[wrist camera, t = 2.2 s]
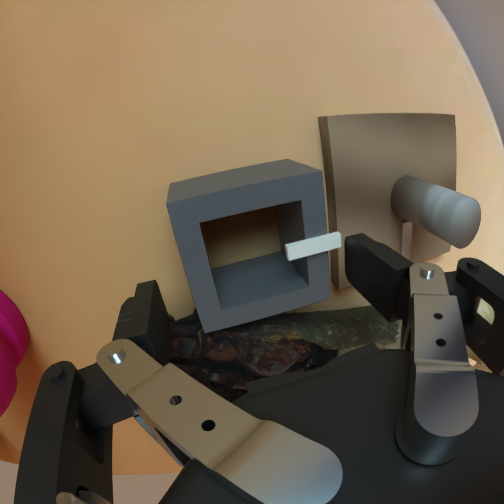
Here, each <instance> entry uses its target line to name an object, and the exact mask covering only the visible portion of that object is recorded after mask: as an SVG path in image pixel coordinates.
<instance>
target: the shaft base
mask: <svg viewBox="0 0 504 504" xmlns="http://www.w3.org/2000/svg"><path fill="white" fill-rule="evenodd" d="M318 118H319V125H320V133H321V141H322V150H323V159H324V168H325V178H326V189H327V201H328V215H329V230H330V233H334V232H339V233H340V234H341V247H339V248H335V249H332V250H331V271H332V283H333V284H334V285H335V286H336V288H337V289H338V290H341V289H344V288H348V287H351V286H352V285H351V284H350V283H349V282H348V280H347V278H346V275H345V253H344V241H345V238H346V237H347V236H350V235H354V234H359V233H364V234H365V235H367V236H368V237H370V238H371V239H373V240H374V241H377V242H380V243H383V244H386V245H387V246H389V247H390V248H392V250H395V251H396V252H398V254H401V255H402V256H404V257H405V258H407V259H408V260H410V261H411V262H413V263H414V264H415V263H420V262H422V261H425V260H428V259H430V258H433V257H436V256H438V255H441V254H444V253H446V252H449V251H450V247H451V245H453V246H455V247H456V248H459V249H462V248H465V247H466V246H468V245H469V244H470V243H471V242H472V240H473V239H474V237H475V236H476V234H477V231H478V229H479V225H480V220H481V209H480V205H479V203H478V201H477V200H476V199H474V198H471V197H469V196H466V195H464V194H461V193H459V192H456V127H455V115H449V114H432V113H373V114H351V115H336V116H324V117H318Z"/></svg>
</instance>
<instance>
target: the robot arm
mask: <svg viewBox="0 0 504 504" xmlns="http://www.w3.org/2000/svg"><path fill="white" fill-rule="evenodd" d="M344 253H345V275H346V278H347V280H348V282H349V283H350V284H351V285H352V286H353V287H354V288H355V289H356V290H357V291H358V292H359V293H360V294H361V295H362V296H363V297H364V298H365V299H366V300H367V301H368V302H369V303H370V304H371V305H372V306H373V307H374V308H375V309H376V310H377V311H378V312H379V313H380V314H381V315H382V316H383V317H384V318H385V319H386V320H387V321H388V322H389V323H393V322H395V321H397V320H400V319H402V325H401V338H400V349H382V350H380V349H379V348H378V347H377V346H376V345H375V343H374V342H372V343H369V344H367V345H364V346H362V347H359V348H356V349H354V350H351V351H348V352H345V353H344V354H342V355H341V356H339V357H337V358H336V359H334V360H332V361H331V362H329V363H327V364H326V365H324V366H322V367H321V368H319V369H316V370H309V371H301V372H291V373H281V374H276V375H273V376H269V377H266V378H262V379H258V380H254V381H250V382H246V386H247V390H248V393H246V394H244V395H242V396H240V397H239V398H237V399H235V400H234V401H233V402H231V403H230V402H228V401H227V400H225V399H224V398H222V397H220V396H219V395H217V394H216V393H214V392H213V391H211V390H210V389H208V388H207V387H205V386H204V385H202V384H201V383H199V382H198V381H196V380H195V379H193V378H192V377H190V376H189V375H188V374H186V373H185V372H183V371H182V370H181V369H179V368H178V367H176V366H175V365H173V364H172V363H170V321H169V317H168V313H167V310H166V307H165V304H164V301H163V298H162V296H161V293H160V290H159V287H158V284H157V282H156V280H152V281H147V282H143V283H138V284H137V287H136V292H135V296H134V297H130V298H128V299H127V300H126V301H125V302H124V304H123V305H122V306H121V309H120V313H119V317H118V320H117V321H118V322H117V324H116V328H115V332H114V336H113V340H112V342H110V343H108V344H106V345H105V346H104V347H102V348H101V350H100V351H99V352H98V354H97V358H96V360H97V362H96V363H94V364H92V365H90V366H87V367H85V368H82V369H80V370H77V369H76V368H75V366H74V365H73V364H72V363H71V362H69V361H61V362H57V363H55V364H53V365H51V366H50V367H49V368H48V369H47V370H46V371H45V372H44V373H43V375H42V378H41V381H40V384H39V387H38V390H37V393H36V397H35V400H34V403H33V407H32V410H31V414H30V418H29V422H28V426H27V430H26V434H25V438H24V443H23V447H22V452H21V457H20V463H19V468H18V474H17V481H16V488H15V496H14V504H113V484H112V433H113V424H115V423H117V422H120V421H122V420H125V419H127V418H130V417H133V418H134V419H135V420H136V421H137V422H138V423H139V424H140V425H141V426H142V427H143V428H144V429H145V431H146V432H147V433H148V434H149V435H150V436H151V437H152V438H153V439H154V440H155V441H156V442H157V443H158V444H160V445H161V446H162V447H163V448H164V449H165V450H166V452H167V453H168V454H169V455H170V456H171V457H172V458H173V459H174V460H175V461H176V462H177V463H178V464H179V465H180V466H181V467H182V468H183V469H182V471H181V472H180V474H179V475H178V477H177V478H176V479H175V481H174V482H173V484H172V485H171V486H170V488H169V489H168V491H167V492H166V493H165V495H164V496H163V498H162V499H161V501H160V502H159V503H158V504H504V276H503V275H502V274H500V273H499V272H497V271H496V270H495V269H493V268H492V267H490V266H489V265H487V264H485V263H484V262H482V261H481V260H478V259H475V258H462V259H460V260H459V261H458V264H457V270H456V271H453V272H444V271H443V269H442V268H441V267H439V266H438V265H435V264H432V263H428V262H420V263H415V264H414V263H413V262H411V261H410V260H408V259H407V258H405V257H404V256H402V255H401V254H398V252H396V251H395V250H392V248H390V247H389V246H387V245H386V244H383V243H380V242H377V241H374V240H373V239H371V238H370V237H368V236H367V235H365V234H364V233H359V234H354V235H350V236H347V237H346V238H345V241H344ZM481 298H482V299H483V300H484V301H485V302H487V303H488V304H489V305H490V306H491V307H492V308H493V310H494V320H493V323H492V325H491V324H490V323H489V322H488V321H487V320H486V319H484V318H483V317H482V316H481V315H480V314H479V313H478V312H477V311H478V307H479V304H480V300H481ZM466 345H467V346H468V347H469V348H470V349H471V350H472V351H473V352H474V353H475V354H476V355H477V356H478V357H479V358H480V360H481V361H482V362H483V363H484V364H485V365H486V366H487V367H488V368H489V369H490V370H491V371H492V372H493V373H489V372H485V371H481V370H477V369H474V367H473V366H471V365H470V364H469V360H468V353H467V347H466Z"/></svg>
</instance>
